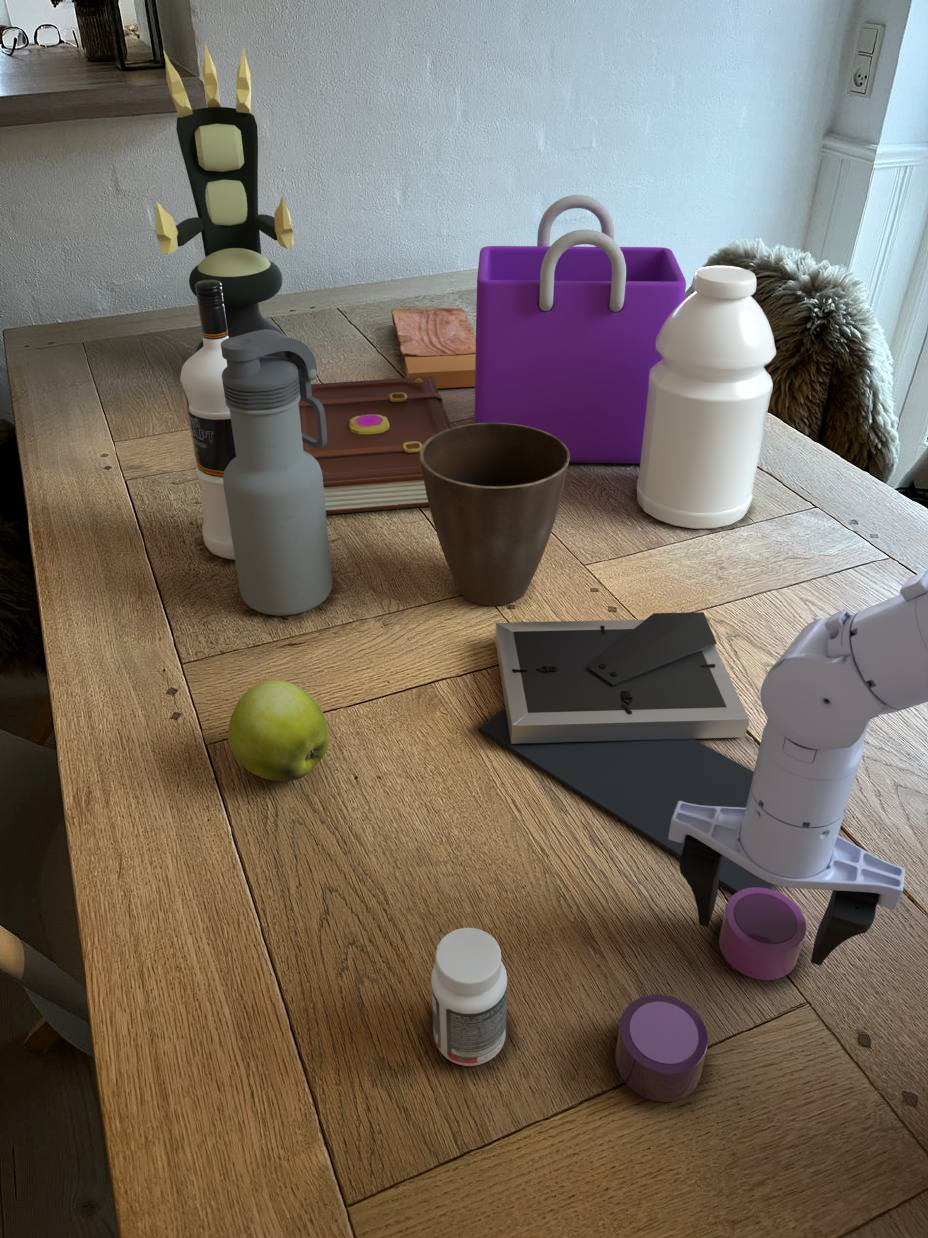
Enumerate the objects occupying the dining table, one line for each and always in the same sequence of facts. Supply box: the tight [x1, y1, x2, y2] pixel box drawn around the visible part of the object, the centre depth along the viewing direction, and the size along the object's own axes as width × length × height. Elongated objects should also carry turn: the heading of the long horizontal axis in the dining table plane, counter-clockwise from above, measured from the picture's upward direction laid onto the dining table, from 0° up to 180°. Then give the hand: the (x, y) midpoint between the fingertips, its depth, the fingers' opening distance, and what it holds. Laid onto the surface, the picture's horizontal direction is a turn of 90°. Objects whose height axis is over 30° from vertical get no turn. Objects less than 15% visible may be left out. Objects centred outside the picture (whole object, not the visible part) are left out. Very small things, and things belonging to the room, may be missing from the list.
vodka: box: [179, 280, 236, 561], centre depth 108 cm, size 9×9×30 cm
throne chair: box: [155, 40, 294, 360], centre depth 149 cm, size 19×22×45 cm
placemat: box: [478, 708, 775, 894], centre depth 85 cm, size 28×12×1 cm, turn 46°
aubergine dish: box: [614, 993, 709, 1103], centre depth 63 cm, size 5×5×3 cm
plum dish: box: [718, 887, 807, 981], centre depth 70 cm, size 5×5×3 cm
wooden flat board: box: [390, 307, 476, 389], centre depth 165 cm, size 13×30×3 cm, turn 8°
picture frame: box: [494, 611, 750, 744], centre depth 93 cm, size 16×3×21 cm
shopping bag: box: [473, 194, 687, 465], centre depth 131 cm, size 28×22×30 cm
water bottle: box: [221, 329, 333, 617], centre depth 100 cm, size 10×10×28 cm
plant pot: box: [420, 423, 570, 607], centre depth 104 cm, size 15×15×16 cm
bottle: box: [636, 265, 777, 529], centre depth 116 cm, size 14×14×28 cm
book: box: [298, 376, 452, 515], centre depth 134 cm, size 23×32×5 cm
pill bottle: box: [430, 927, 508, 1067], centre depth 63 cm, size 5×5×8 cm
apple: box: [227, 679, 331, 782], centre depth 84 cm, size 8×9×8 cm
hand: (761, 934), depth 70 cm, fingers open, 7 cm apart
